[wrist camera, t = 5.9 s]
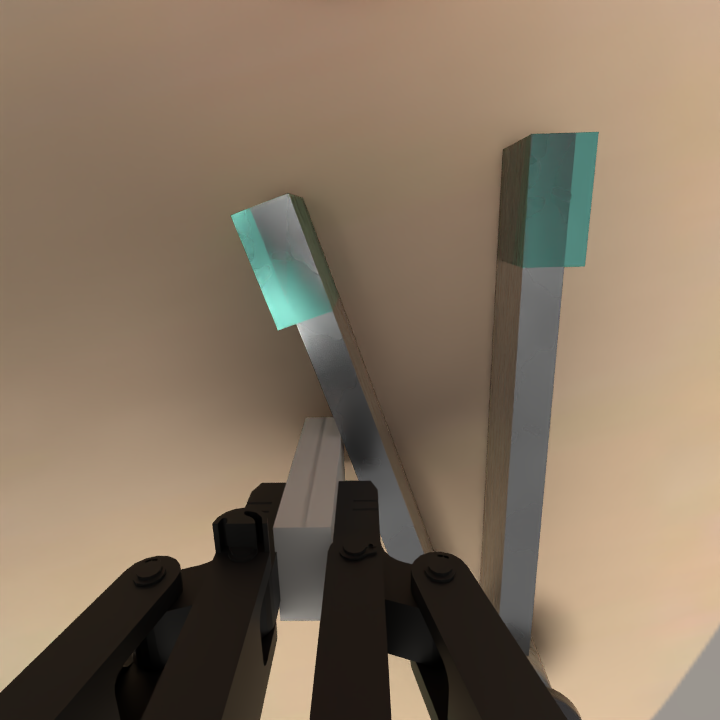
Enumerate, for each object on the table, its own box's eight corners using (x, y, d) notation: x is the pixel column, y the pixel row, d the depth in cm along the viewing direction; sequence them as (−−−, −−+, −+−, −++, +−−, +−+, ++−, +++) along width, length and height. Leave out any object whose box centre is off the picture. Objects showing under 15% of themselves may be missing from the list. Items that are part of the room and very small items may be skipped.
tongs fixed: (540, 683, 22) (582, 798, 18) (436, 683, 22) (451, 796, 18) (594, 147, 16) (679, 118, 11) (448, 151, 16) (477, 124, 12)
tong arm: (453, 604, 21) (466, 664, 18) (414, 615, 21) (420, 676, 18) (302, 198, 17) (288, 193, 14) (254, 216, 17) (230, 215, 14)
